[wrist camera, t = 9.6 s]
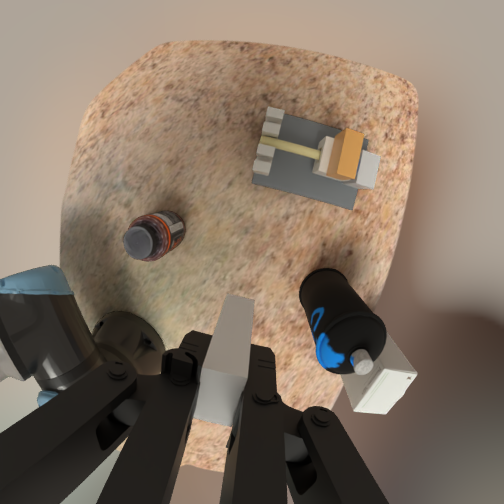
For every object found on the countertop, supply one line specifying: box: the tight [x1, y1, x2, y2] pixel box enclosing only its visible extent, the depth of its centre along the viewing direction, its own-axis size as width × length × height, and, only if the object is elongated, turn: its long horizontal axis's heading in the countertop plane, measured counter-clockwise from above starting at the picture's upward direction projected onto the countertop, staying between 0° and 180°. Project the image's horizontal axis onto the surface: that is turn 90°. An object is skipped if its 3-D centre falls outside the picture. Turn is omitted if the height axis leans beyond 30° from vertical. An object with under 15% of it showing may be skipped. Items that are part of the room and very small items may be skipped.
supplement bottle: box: [123, 211, 185, 261], centre depth 35 cm, size 6×6×11 cm
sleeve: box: [312, 128, 364, 181], centre depth 29 cm, size 4×5×9 cm
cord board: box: [252, 106, 381, 210], centre depth 34 cm, size 15×11×8 cm
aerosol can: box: [299, 268, 387, 375], centre depth 32 cm, size 8×8×20 cm
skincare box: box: [340, 333, 417, 414], centre depth 36 cm, size 8×7×16 cm
